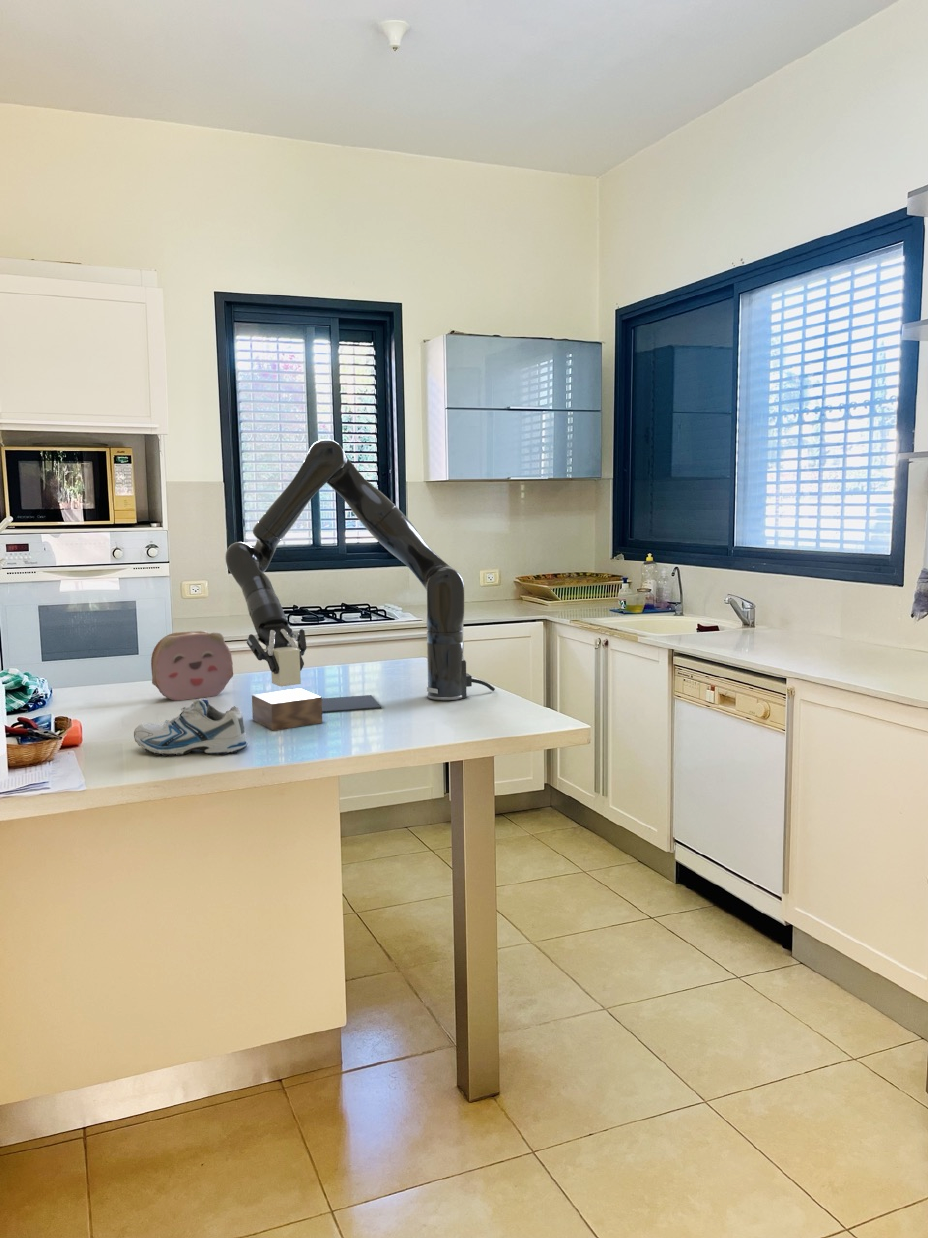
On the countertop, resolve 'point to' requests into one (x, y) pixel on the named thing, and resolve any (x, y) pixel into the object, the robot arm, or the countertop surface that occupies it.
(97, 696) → the countertop surface
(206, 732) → the athletic shoe
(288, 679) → the cream box
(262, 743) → the countertop surface
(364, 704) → the rubber mat
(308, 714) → the brown box
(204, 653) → the face sculpture
